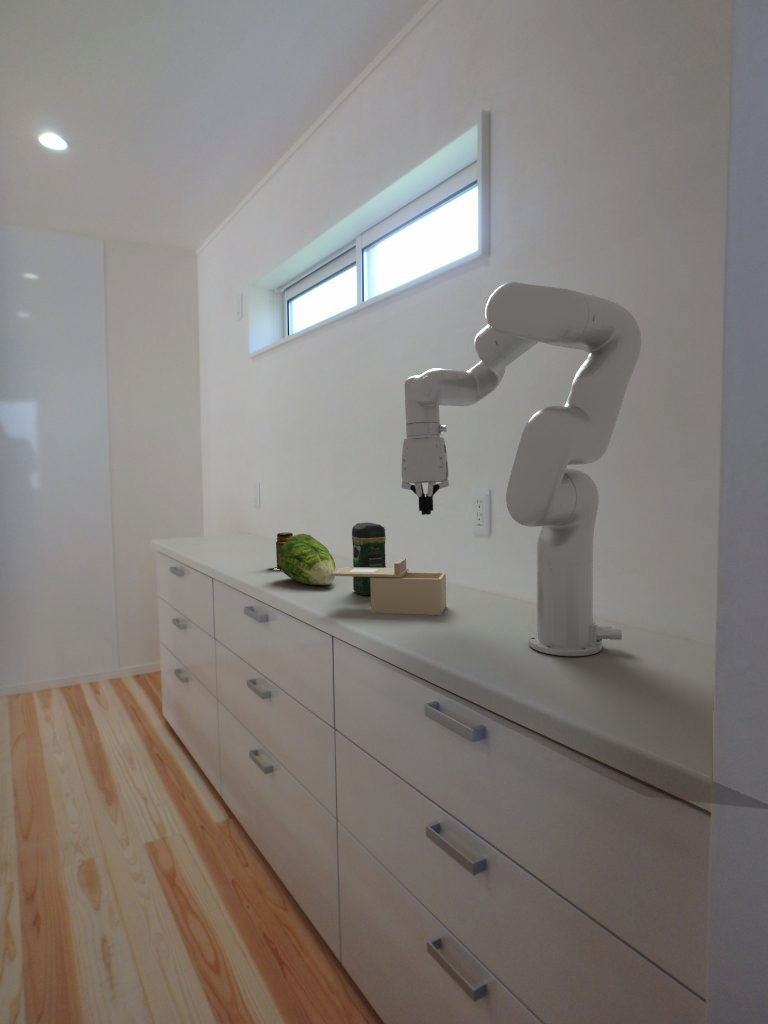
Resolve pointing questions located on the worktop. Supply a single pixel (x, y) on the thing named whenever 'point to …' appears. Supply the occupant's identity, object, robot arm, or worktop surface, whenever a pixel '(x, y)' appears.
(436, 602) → the box
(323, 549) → the lettuce
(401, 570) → the lid
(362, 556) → the coffee jar
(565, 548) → the robot arm
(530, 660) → the worktop surface
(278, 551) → the condiment
